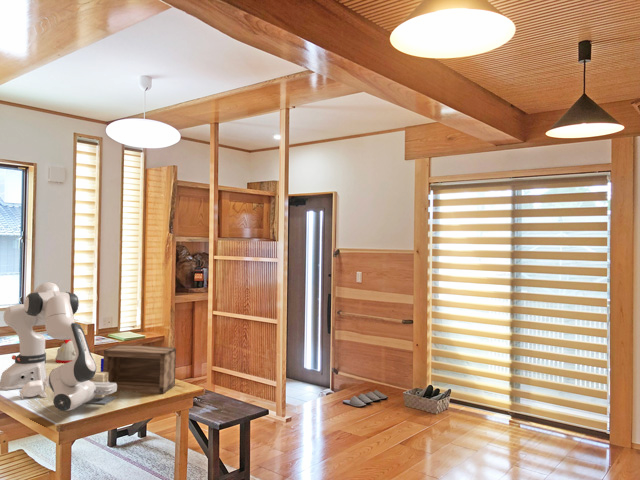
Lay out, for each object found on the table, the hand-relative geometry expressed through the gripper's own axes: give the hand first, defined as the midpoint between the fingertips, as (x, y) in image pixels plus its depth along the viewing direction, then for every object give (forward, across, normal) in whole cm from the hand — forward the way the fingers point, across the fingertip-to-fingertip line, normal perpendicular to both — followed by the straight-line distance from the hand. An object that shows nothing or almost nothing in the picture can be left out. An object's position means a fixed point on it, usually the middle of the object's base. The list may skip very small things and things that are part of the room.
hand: (101, 382), depth 230 cm
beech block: (-1, 0, +6) cm, 6 cm away
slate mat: (-1, 0, +8) cm, 8 cm away
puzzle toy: (+38, +13, +8) cm, 41 cm away
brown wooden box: (+21, -8, +8) cm, 24 cm away
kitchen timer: (+67, +57, +8) cm, 89 cm away
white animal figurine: (0, +30, +8) cm, 31 cm away
